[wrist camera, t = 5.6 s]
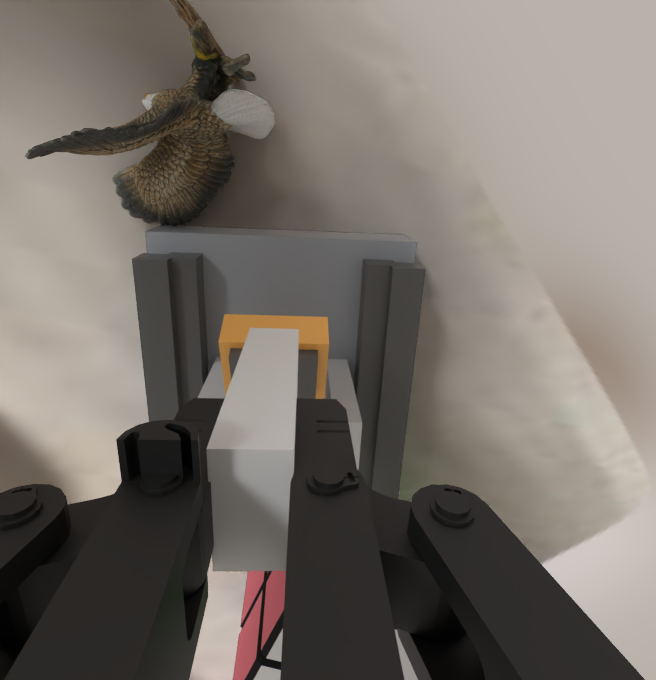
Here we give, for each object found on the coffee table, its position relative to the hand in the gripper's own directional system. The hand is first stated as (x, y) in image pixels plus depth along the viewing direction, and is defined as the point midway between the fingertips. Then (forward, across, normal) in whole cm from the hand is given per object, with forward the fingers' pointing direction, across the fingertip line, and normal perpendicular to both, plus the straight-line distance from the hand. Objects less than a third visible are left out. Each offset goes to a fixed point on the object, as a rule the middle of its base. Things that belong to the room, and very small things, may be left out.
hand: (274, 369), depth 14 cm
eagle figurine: (+14, -6, +8) cm, 17 cm away
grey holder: (+14, 0, -5) cm, 15 cm away
